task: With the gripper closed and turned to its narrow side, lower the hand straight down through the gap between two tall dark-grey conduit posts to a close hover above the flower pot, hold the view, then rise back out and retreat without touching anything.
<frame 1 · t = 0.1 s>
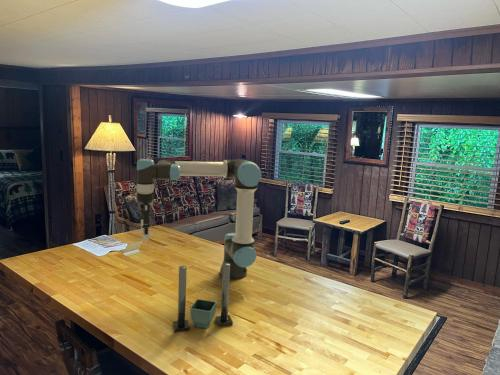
hand: (144, 236, 184), 28 cm above the table, fingers open, 13 cm apart
post 1: (181, 327, 158), on the table
flower pot: (202, 325, 161), on the table
post 2: (223, 322, 164), on the table
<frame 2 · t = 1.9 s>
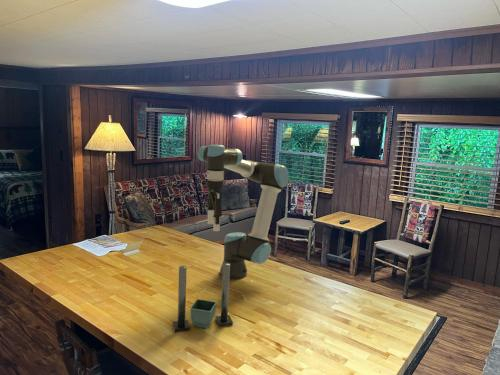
hand: (213, 227, 176), 36 cm above the table, fingers open, 11 cm apart
nothing on the table moved.
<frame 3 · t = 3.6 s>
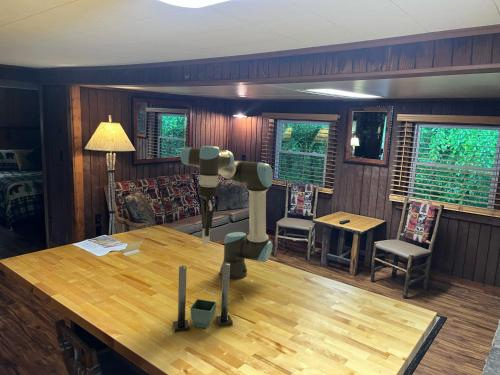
hand: (205, 243, 156), 35 cm above the table, fingers closed
nothing on the table moved.
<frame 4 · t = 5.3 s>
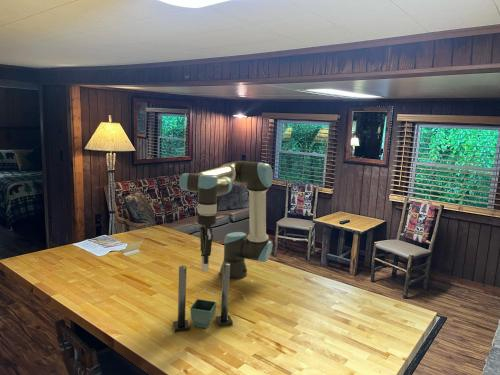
hand: (204, 270, 157), 24 cm above the table, fingers closed
nothing on the table moved.
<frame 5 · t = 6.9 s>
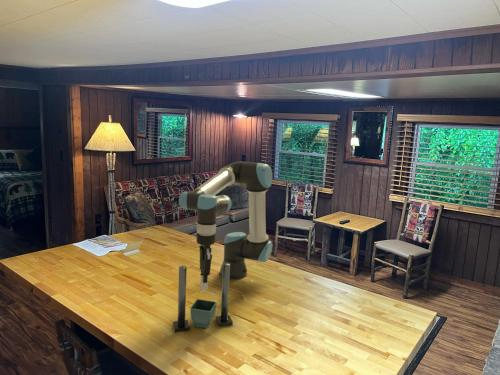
hand: (204, 288, 158), 16 cm above the table, fingers closed
nothing on the table moved.
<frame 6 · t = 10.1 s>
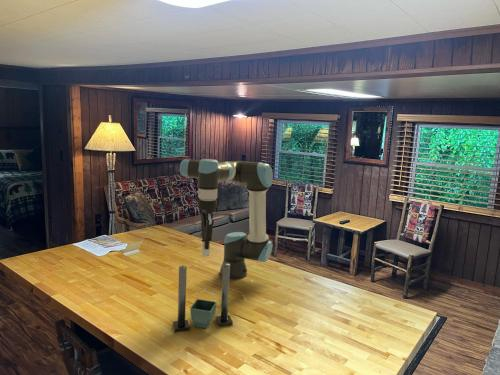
hand: (205, 255, 156), 30 cm above the table, fingers closed
nothing on the table moved.
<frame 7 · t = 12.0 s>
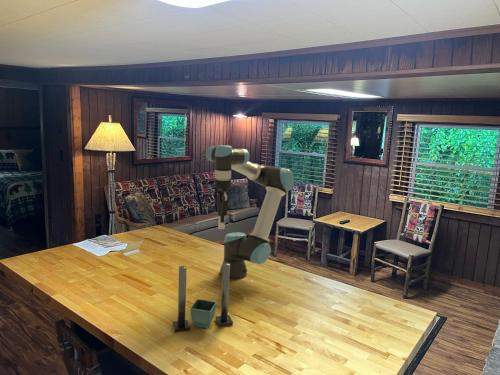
hand: (221, 228, 182), 34 cm above the table, fingers closed
nothing on the table moved.
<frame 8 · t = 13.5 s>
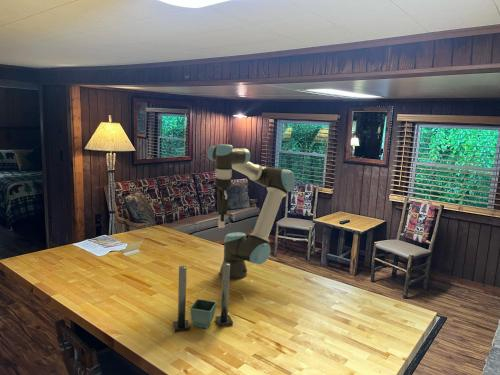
hand: (221, 227, 183), 34 cm above the table, fingers closed
nothing on the table moved.
at the end: flower pot moved 0.3 cm from its start; post 2 tilted 0°; post 1 tilted 0° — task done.
